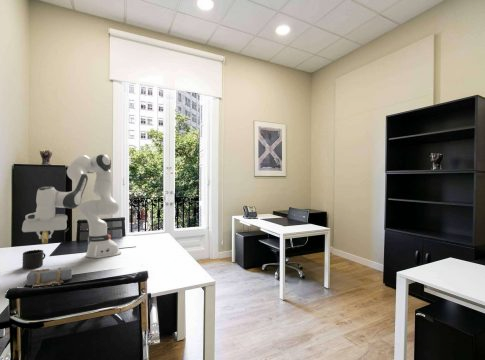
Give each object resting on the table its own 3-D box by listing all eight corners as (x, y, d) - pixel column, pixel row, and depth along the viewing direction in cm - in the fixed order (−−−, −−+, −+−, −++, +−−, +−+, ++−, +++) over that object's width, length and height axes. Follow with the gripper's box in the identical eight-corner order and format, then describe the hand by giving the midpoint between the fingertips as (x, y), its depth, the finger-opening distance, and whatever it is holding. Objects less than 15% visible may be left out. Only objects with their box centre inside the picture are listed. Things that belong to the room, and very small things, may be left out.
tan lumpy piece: (49, 275, 137) (49, 268, 137) (47, 280, 131) (47, 272, 131) (30, 278, 133) (30, 270, 133) (27, 283, 127) (27, 275, 127)
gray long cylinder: (71, 276, 135) (72, 267, 135) (71, 279, 131) (71, 269, 131) (28, 282, 125) (29, 272, 125) (26, 285, 121) (26, 275, 121)
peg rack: (64, 278, 134) (64, 267, 134) (62, 283, 128) (63, 271, 128) (35, 282, 128) (36, 270, 128) (32, 288, 121) (32, 275, 121)
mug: (50, 263, 156) (51, 249, 156) (30, 270, 144) (30, 254, 144) (39, 262, 158) (39, 248, 158) (18, 268, 147) (18, 253, 147)
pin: (48, 242, 146) (48, 229, 146) (47, 243, 143) (47, 230, 143) (42, 243, 144) (42, 229, 144) (41, 244, 142) (42, 230, 142)
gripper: (68, 213, 152) (67, 235, 152) (24, 214, 141) (23, 238, 141) (67, 214, 147) (66, 237, 147) (21, 216, 136) (20, 241, 136)
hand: (45, 238), depth 144 cm, fingers closed on pin, 3 cm apart
